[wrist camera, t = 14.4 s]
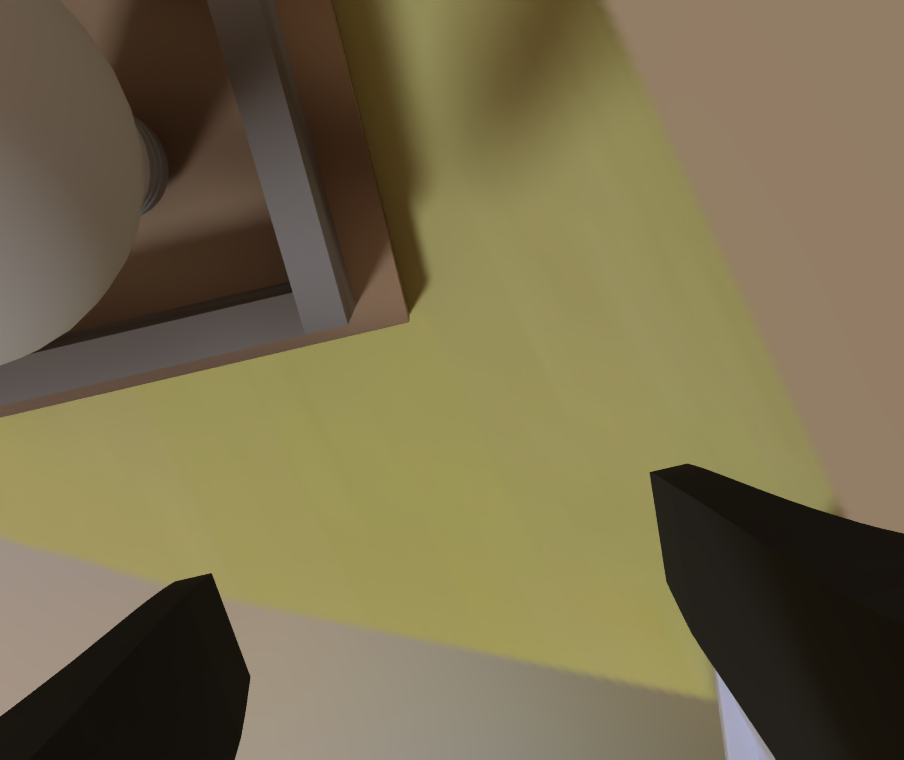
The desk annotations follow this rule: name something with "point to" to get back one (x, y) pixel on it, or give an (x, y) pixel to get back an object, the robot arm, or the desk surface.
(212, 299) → the socket base
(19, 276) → the lightbulb
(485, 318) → the desk surface
